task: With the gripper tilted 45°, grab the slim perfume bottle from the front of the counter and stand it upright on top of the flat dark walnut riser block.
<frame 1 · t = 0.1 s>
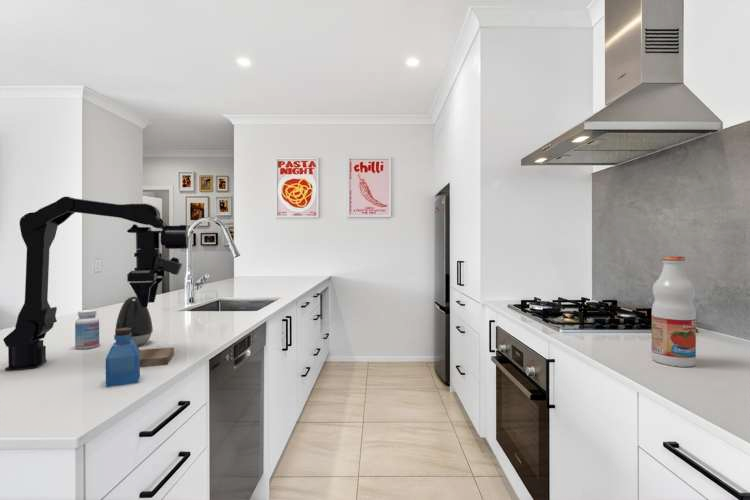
hand: (148, 304, 113), 15 cm above the worktop, tool pointing down, fingers open, 9 cm apart
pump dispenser: (134, 345, 127), on the worktop
fruit juice: (672, 363, 106), on the worktop
pill bottle: (87, 347, 124), on the worktop
perfume bottle: (123, 381, 93), on the worktop
walnut block: (148, 362, 109), on the worktop
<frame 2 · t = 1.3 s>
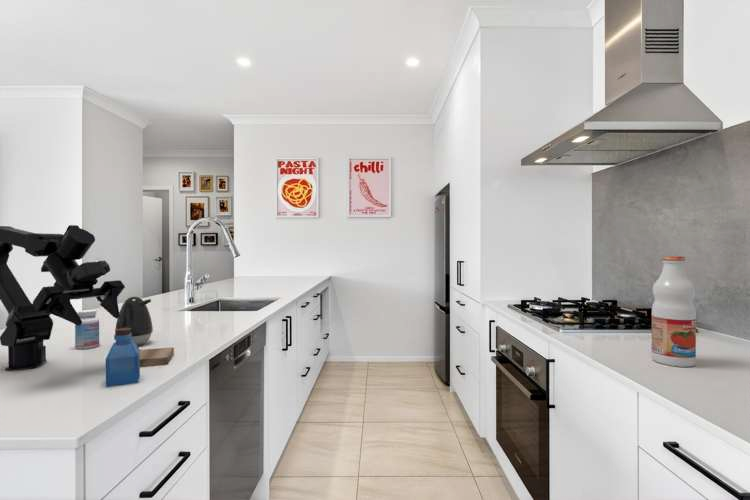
hand: (100, 320, 96), 13 cm above the worktop, tool tilted 45°, fingers open, 9 cm apart
nothing on the worktop moved.
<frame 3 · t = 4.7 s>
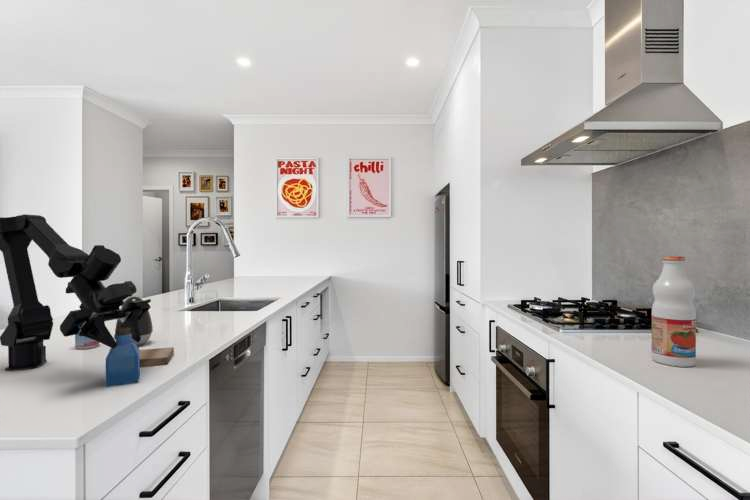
hand: (127, 343, 93), 9 cm above the worktop, tool tilted 45°, fingers closed on perfume bottle, 6 cm apart
perfume bottle: (123, 381, 93), on the worktop, touching gripper
everything else where it was.
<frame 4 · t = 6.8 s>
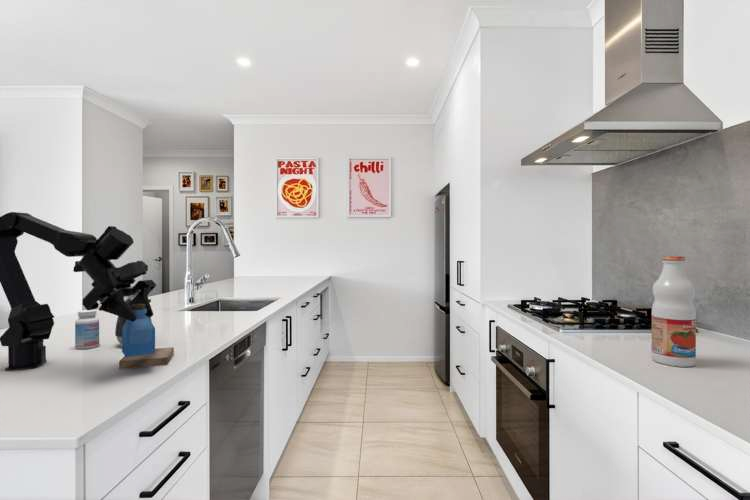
hand: (143, 318, 100), 13 cm above the worktop, tool tilted 45°, fingers closed on perfume bottle, 6 cm apart
perfume bottle: (138, 353, 100), point 4 cm above the worktop, touching gripper
everything else where it was.
when the fingers open (12 cm above the worktop, at t = 8.8 s): perfume bottle drops 2 cm, point 2 cm above the worktop.
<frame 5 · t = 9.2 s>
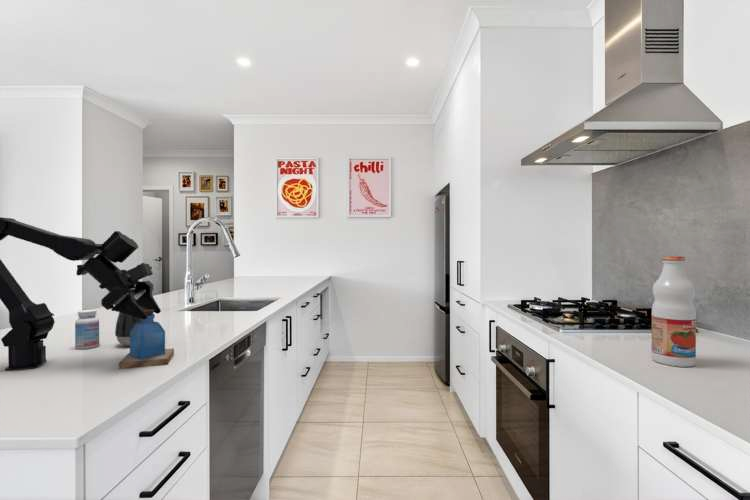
hand: (153, 315, 109), 12 cm above the worktop, tool tilted 45°, fingers open, 9 cm apart
perfume bottle: (147, 355, 109), point 2 cm above the worktop
everything else where it was.
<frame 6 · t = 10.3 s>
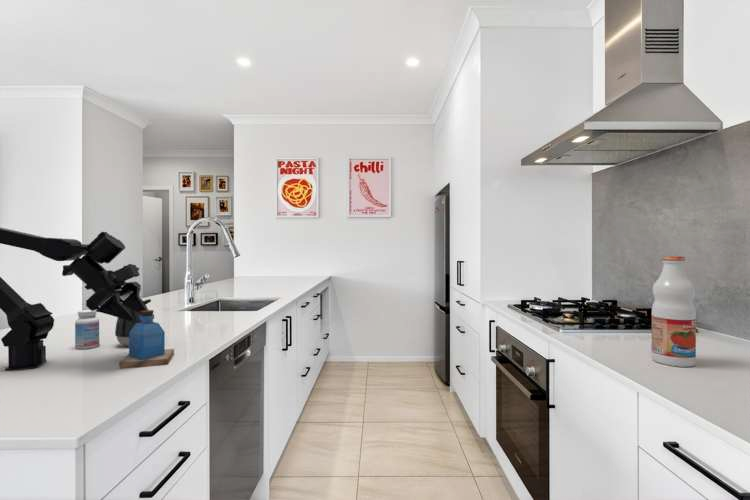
hand: (139, 316, 109), 12 cm above the worktop, tool tilted 45°, fingers open, 9 cm apart
nothing on the worktop moved.
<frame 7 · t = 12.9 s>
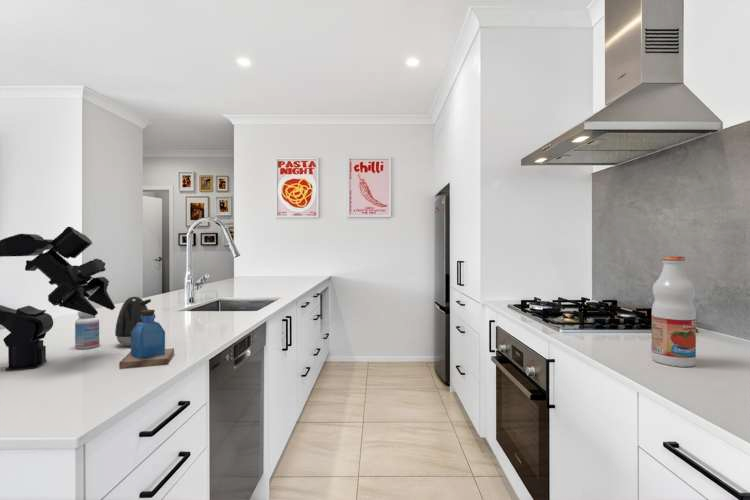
hand: (105, 311, 108), 14 cm above the worktop, tool tilted 45°, fingers open, 9 cm apart
perfume bottle: (148, 355, 109), point 1 cm above the worktop, touching walnut block
walnut block: (148, 364, 109), on the worktop, touching perfume bottle
everything else where it was.
at the end: perfume bottle inside the target area on the walnut block (0.1 cm from its centre), point 2.3 cm above the walnut block's base; perfume bottle tilted 0°; the gripper is holding nothing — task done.
